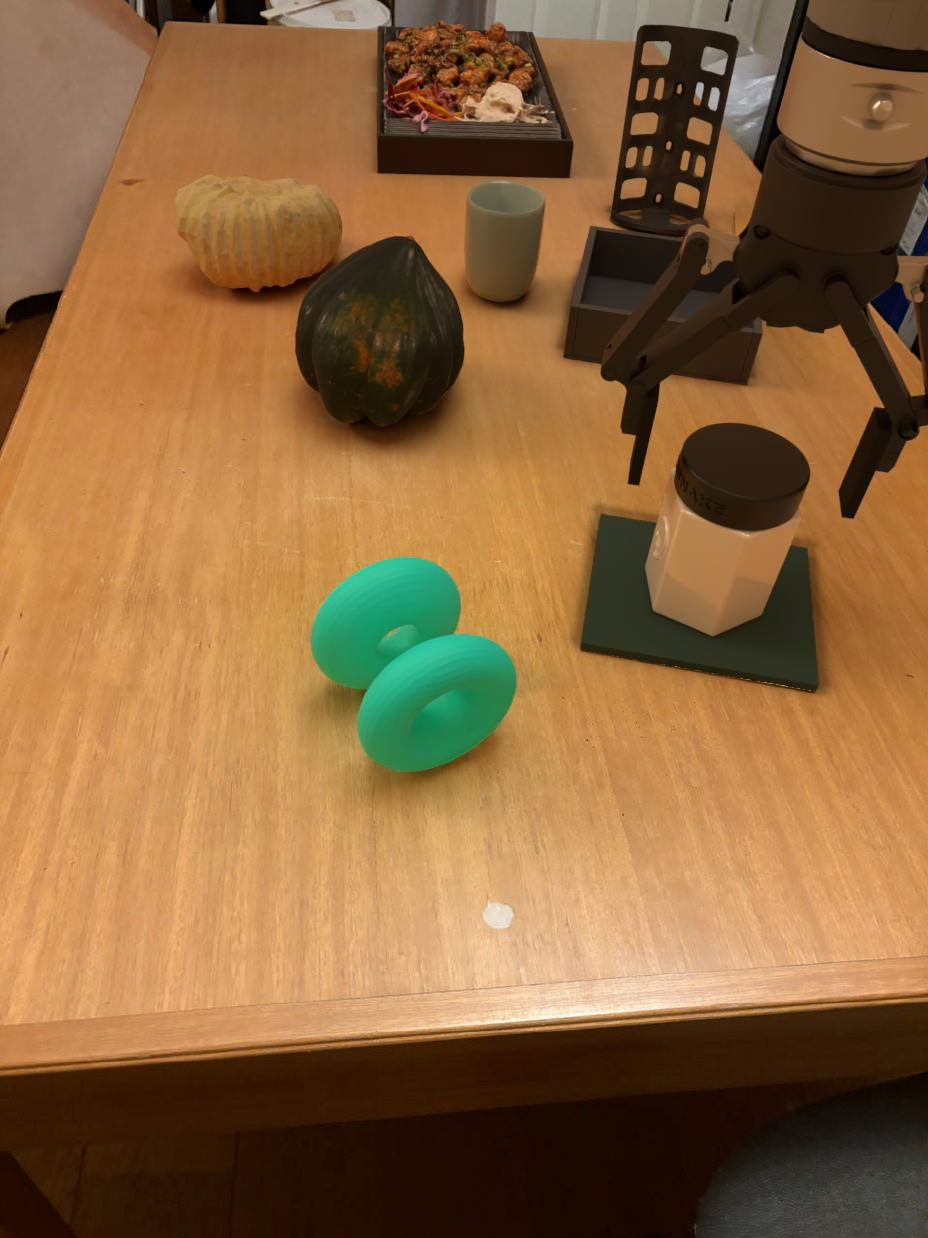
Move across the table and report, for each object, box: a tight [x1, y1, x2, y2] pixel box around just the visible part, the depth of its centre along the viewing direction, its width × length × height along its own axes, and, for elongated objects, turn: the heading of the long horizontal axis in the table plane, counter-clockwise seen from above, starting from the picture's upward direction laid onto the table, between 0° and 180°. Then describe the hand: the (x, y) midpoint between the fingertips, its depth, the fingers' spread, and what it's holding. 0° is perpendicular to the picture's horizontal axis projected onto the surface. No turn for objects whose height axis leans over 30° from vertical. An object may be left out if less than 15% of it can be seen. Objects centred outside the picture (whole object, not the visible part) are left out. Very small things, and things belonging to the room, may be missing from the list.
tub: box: [562, 225, 764, 386], centre depth 93 cm, size 18×18×5 cm
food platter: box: [376, 19, 575, 179], centre depth 130 cm, size 45×25×10 cm, turn 4°
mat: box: [579, 513, 820, 692], centre depth 68 cm, size 16×14×1 cm
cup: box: [463, 180, 546, 303], centre depth 94 cm, size 8×8×10 cm
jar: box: [645, 422, 811, 636], centre depth 63 cm, size 9×8×12 cm
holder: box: [609, 24, 740, 236], centre depth 105 cm, size 11×8×20 cm
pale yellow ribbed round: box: [174, 173, 343, 293], centre depth 96 cm, size 17×11×15 cm
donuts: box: [309, 556, 518, 773], centre depth 56 cm, size 10×10×10 cm
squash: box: [294, 235, 466, 427], centre depth 79 cm, size 14×15×15 cm
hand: (738, 488), depth 61 cm, fingers open, 13 cm apart
